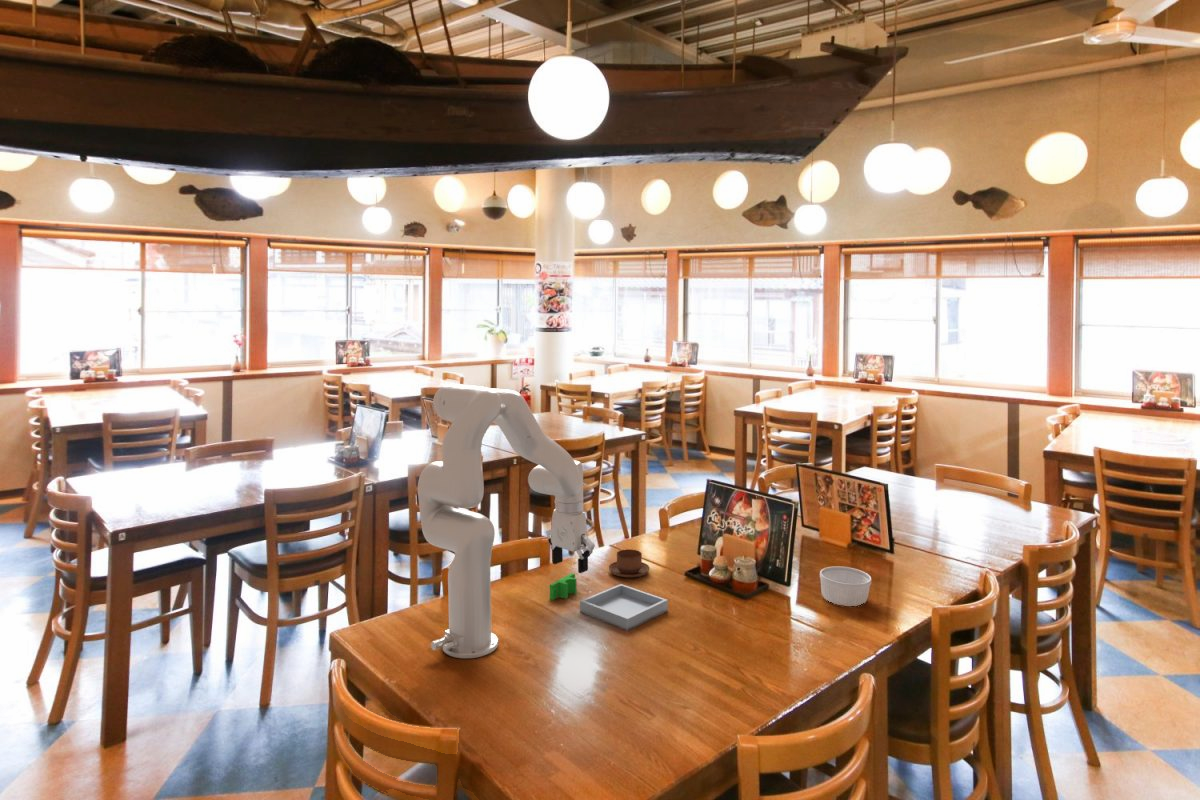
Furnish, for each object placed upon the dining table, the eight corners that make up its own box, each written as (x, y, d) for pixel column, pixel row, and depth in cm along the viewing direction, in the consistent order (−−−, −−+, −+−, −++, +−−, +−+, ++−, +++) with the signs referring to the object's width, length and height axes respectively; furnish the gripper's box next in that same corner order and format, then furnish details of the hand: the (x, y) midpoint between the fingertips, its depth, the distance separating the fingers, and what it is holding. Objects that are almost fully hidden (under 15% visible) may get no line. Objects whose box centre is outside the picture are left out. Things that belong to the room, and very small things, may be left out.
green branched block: (560, 602, 191) (560, 587, 191) (549, 600, 193) (549, 584, 193) (582, 589, 200) (582, 575, 200) (571, 587, 202) (571, 572, 202)
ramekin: (881, 605, 191) (882, 580, 190) (841, 612, 186) (842, 586, 185) (847, 587, 203) (848, 563, 202) (808, 594, 198) (809, 569, 197)
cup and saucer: (603, 568, 217) (603, 549, 216) (640, 564, 220) (641, 545, 220) (616, 583, 206) (616, 562, 205) (655, 578, 209) (655, 558, 208)
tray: (627, 630, 174) (627, 618, 174) (579, 612, 185) (580, 600, 185) (667, 611, 186) (667, 599, 186) (620, 594, 197) (620, 583, 196)
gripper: (537, 503, 196) (538, 563, 199) (582, 515, 185) (583, 579, 187) (557, 497, 202) (557, 556, 204) (602, 509, 190) (603, 571, 193)
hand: (570, 567), depth 196 cm, fingers open, 9 cm apart
